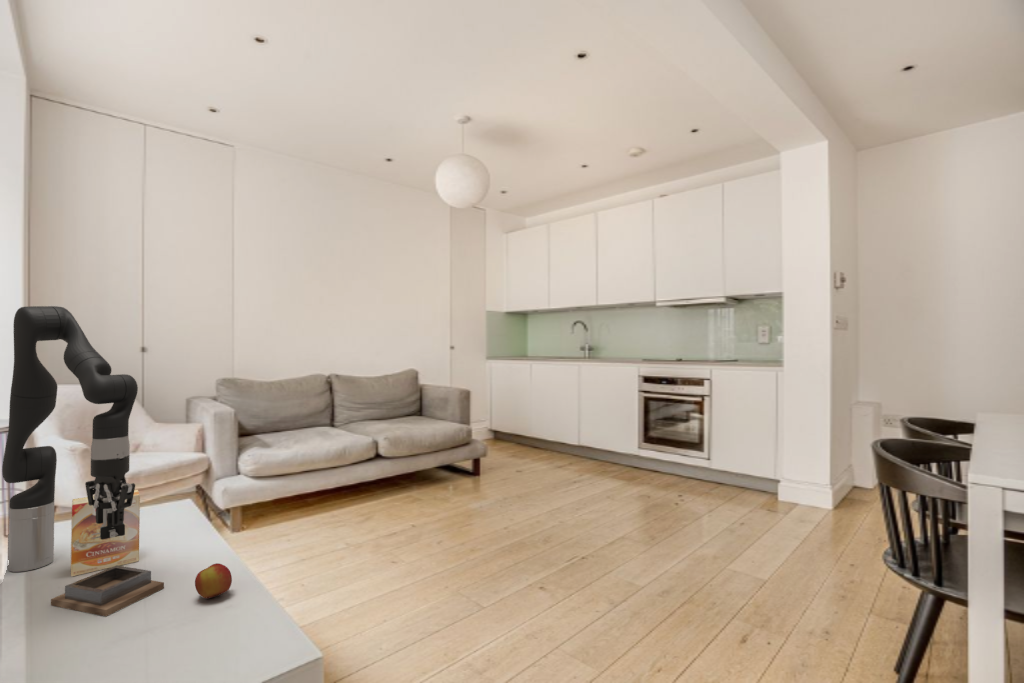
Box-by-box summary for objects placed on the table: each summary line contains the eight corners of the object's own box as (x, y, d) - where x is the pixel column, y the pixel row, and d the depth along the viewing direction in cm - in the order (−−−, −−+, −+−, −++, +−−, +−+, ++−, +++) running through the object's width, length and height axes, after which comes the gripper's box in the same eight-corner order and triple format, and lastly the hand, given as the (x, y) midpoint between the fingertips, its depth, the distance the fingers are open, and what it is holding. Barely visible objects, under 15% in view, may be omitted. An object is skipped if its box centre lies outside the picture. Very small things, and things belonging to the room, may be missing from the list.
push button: (92, 543, 119) (91, 501, 120) (91, 538, 123) (90, 497, 124) (127, 536, 124) (126, 495, 124) (125, 531, 128) (124, 491, 128)
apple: (225, 586, 129) (226, 555, 129) (235, 597, 123) (235, 564, 123) (191, 596, 123) (191, 564, 124) (199, 608, 118) (200, 574, 118)
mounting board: (50, 605, 119) (50, 599, 119) (112, 579, 133) (112, 573, 133) (105, 616, 114) (106, 610, 114) (163, 588, 128) (163, 582, 128)
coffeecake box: (70, 577, 134) (71, 504, 134) (70, 568, 139) (71, 498, 140) (139, 561, 144) (140, 493, 144) (137, 554, 149) (138, 488, 149)
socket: (64, 598, 119) (65, 586, 119) (116, 576, 131) (116, 565, 131) (101, 605, 116) (101, 592, 116) (150, 582, 128) (151, 570, 128)
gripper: (73, 456, 122) (72, 526, 122) (116, 460, 118) (115, 532, 118) (105, 450, 130) (104, 516, 129) (147, 453, 126) (146, 521, 125)
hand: (109, 523), depth 124 cm, fingers closed on push button, 4 cm apart
